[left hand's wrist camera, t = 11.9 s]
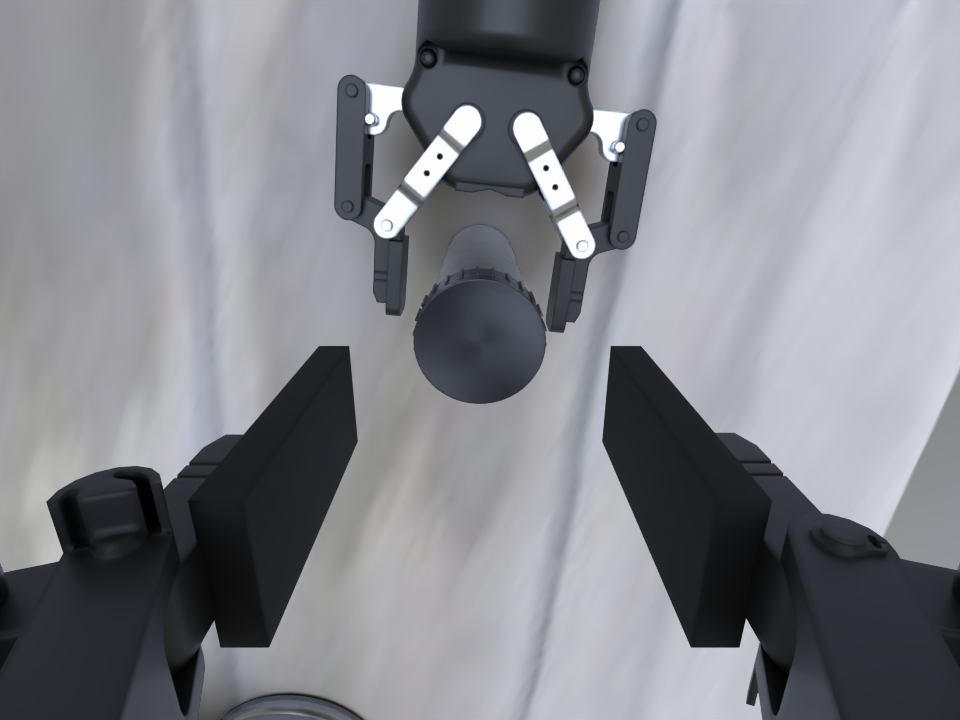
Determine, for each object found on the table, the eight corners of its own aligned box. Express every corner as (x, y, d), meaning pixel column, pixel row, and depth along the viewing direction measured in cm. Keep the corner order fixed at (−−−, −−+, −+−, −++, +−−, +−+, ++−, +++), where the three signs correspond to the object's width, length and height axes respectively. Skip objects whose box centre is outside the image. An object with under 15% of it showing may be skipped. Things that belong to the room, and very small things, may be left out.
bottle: (433, 262, 33) (396, 347, 18) (475, 210, 32) (471, 255, 17) (484, 303, 34) (487, 415, 19) (526, 253, 33) (564, 331, 18)
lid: (392, 336, 20) (384, 353, 18) (470, 238, 18) (469, 246, 17) (487, 407, 21) (488, 429, 19) (568, 319, 19) (576, 334, 18)
